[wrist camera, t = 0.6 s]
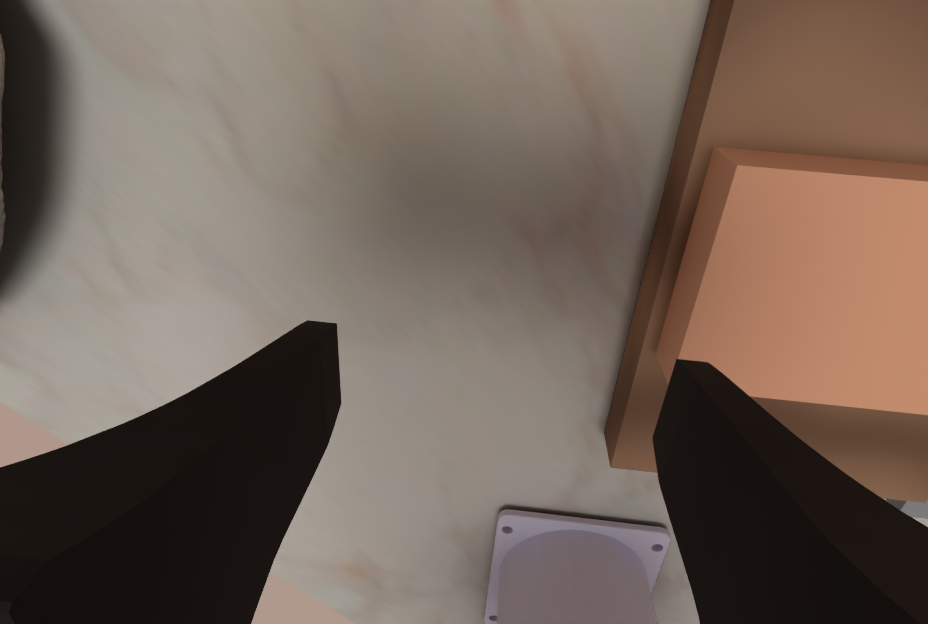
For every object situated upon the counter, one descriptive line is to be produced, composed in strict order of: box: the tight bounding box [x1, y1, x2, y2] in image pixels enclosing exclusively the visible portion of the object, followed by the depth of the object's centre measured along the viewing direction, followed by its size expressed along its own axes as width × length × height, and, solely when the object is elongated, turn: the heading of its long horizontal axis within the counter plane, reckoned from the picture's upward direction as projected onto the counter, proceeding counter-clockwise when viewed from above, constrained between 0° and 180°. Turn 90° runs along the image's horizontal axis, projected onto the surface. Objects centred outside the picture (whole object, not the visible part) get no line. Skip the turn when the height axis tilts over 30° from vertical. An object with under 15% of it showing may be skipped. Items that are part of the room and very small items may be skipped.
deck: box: [604, 0, 928, 503], centre depth 18 cm, size 18×12×2 cm, turn 177°
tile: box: [656, 147, 928, 415], centre depth 16 cm, size 7×10×2 cm
